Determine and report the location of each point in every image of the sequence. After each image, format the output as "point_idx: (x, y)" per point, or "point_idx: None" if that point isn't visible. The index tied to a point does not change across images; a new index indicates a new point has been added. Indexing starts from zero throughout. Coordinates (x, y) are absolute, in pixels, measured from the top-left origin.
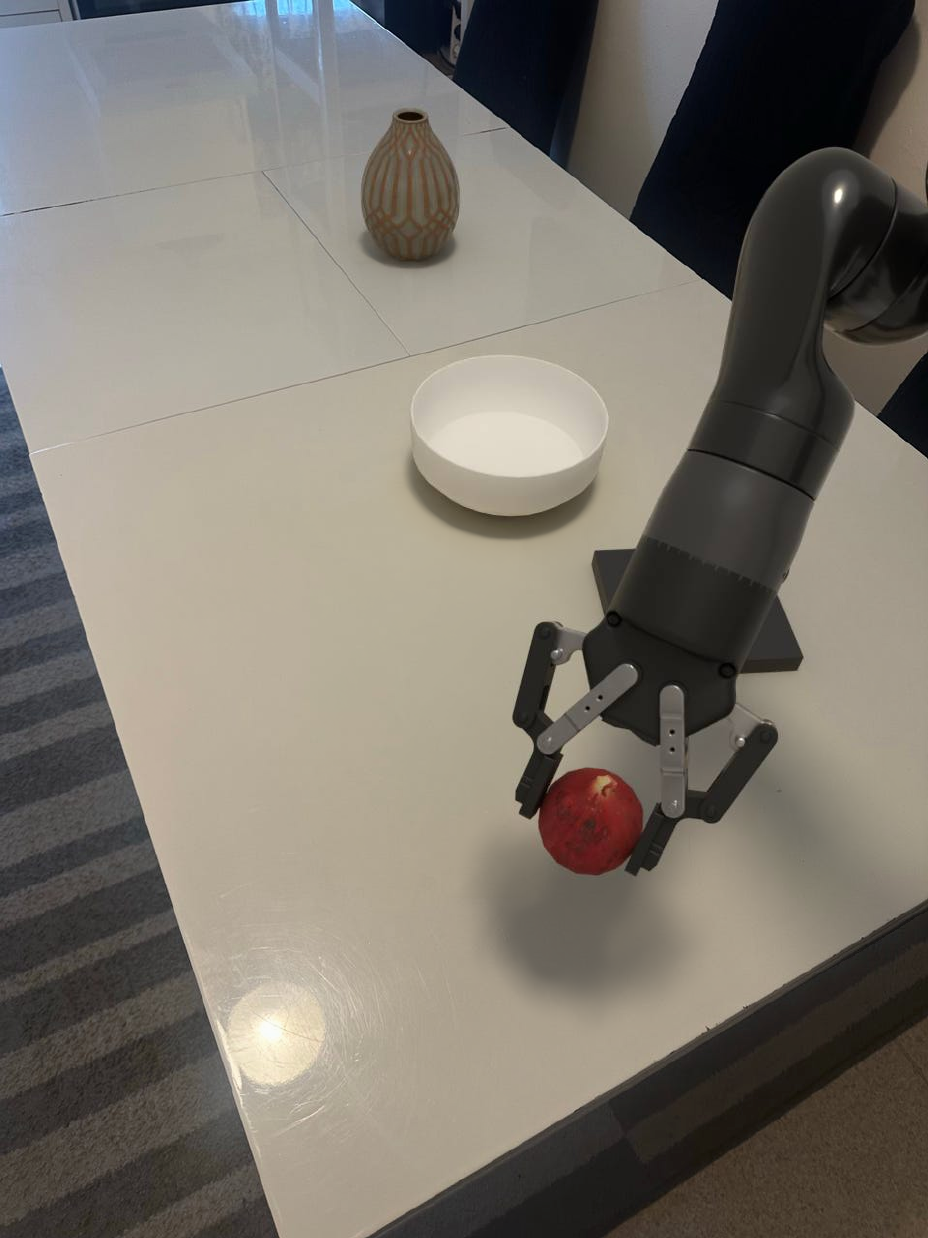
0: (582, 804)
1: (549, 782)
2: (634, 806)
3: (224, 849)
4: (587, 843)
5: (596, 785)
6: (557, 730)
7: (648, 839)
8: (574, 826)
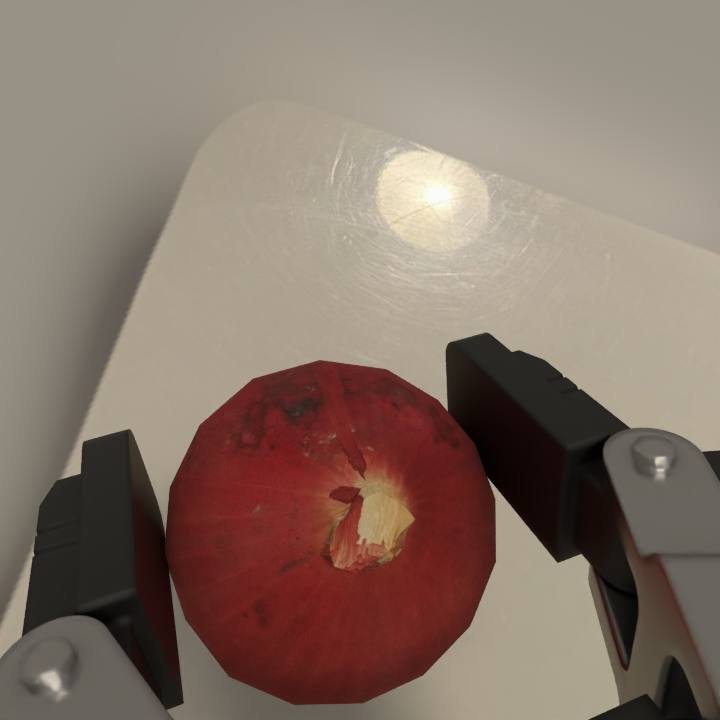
0: (371, 425)
1: (503, 463)
2: (238, 610)
3: (660, 293)
4: (270, 387)
5: (388, 487)
6: (693, 504)
7: (97, 516)
8: (336, 381)
